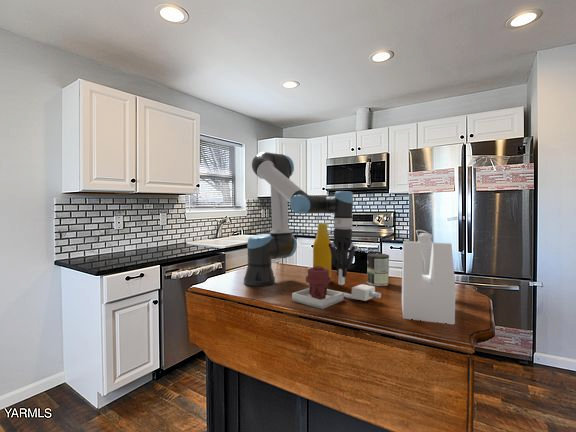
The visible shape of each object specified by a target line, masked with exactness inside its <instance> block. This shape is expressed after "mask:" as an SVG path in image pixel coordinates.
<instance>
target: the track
mask: <svg viewBox="0 0 576 432" xmlns="http://www.w3.org/2000/svg"><path fill="white" fill-rule="evenodd" d="M337 291H338V292H341V291H339V290H337ZM342 292H343V291H342ZM343 293H344V298H347V299H350V300H355V301H358V300H359V299H355V298H352V293H349V292H345V291H344V292H343Z"/></svg>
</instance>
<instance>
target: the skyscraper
mask: <svg viewBox="0 0 576 432" xmlns="http://www.w3.org/2000/svg"><path fill="white" fill-rule="evenodd" d="M418 232H420V233H418ZM415 233H416V236H417V242H421V255H422V275H429V269H430V260H431V250H432V242H433V240H432V238H433V234H431V233H429V232H428V231H425V230H423V229H416V230H415Z"/></svg>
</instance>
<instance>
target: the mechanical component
mask: <svg viewBox="0 0 576 432" xmlns="http://www.w3.org/2000/svg"><path fill="white" fill-rule="evenodd" d="M331 282H332V277H331V278H330V277H329V270H328V269H325V268H323V267H321V266H315V267H313V266H312V267H310V268H308V269H307V276H306V277H305V283H307V284H309V287H308V288H309V294H310V295H311V297H314V298H316V299H321V298H325V297H326V295H327V289H328V284H330V283H331Z"/></svg>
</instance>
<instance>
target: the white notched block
mask: <svg viewBox="0 0 576 432" xmlns="http://www.w3.org/2000/svg"><path fill="white" fill-rule="evenodd" d="M402 245H403V246H402V269H401V310H402V319H404V320H411V319H413V320H414V321H420V320H421V322H428V323H430V322H431V323H437V322H438V324H439V323H440V324H445V323H447V324H448V325H454V324H455V325H456V291H457V290H456V281H455V280H456V279H455V278H456V277H455V268H454V257H453V248H452V246H453V245H452V242H433V241H432V250H431V260H430V269H429V275H422V255H421V242H418V241H406V240H405V241H403V243H402ZM413 320H412V321H413ZM447 324H446V325H447Z"/></svg>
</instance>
